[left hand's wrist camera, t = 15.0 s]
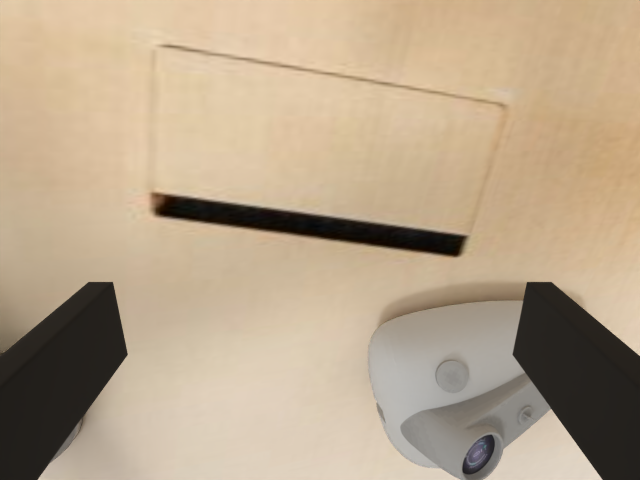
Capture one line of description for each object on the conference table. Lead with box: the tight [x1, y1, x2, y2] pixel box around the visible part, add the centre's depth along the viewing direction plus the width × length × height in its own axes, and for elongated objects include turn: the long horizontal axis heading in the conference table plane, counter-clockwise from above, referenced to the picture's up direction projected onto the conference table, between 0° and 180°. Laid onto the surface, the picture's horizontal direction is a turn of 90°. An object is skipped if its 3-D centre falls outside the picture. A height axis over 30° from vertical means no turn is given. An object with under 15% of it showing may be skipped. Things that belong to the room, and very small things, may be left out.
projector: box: [368, 300, 551, 480], centre depth 39 cm, size 22×23×15 cm
